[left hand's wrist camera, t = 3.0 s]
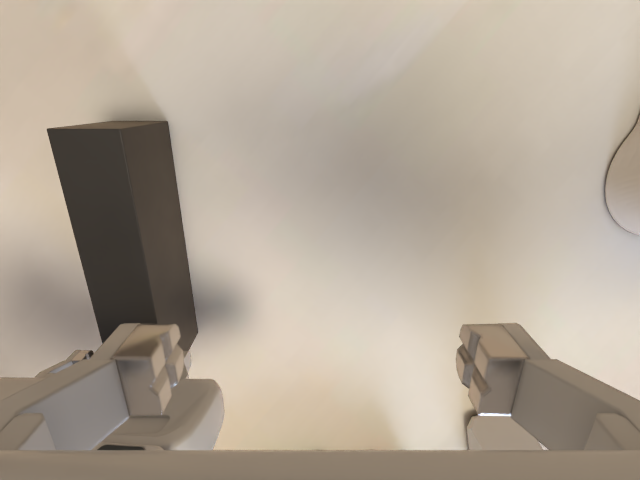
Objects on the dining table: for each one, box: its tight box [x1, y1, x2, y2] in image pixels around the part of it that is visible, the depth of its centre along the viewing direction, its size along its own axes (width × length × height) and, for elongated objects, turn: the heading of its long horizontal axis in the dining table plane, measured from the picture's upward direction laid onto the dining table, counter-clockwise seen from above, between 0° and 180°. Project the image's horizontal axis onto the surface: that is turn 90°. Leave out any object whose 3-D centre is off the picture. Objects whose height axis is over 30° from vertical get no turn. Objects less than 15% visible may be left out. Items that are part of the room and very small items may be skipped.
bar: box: [47, 121, 198, 351], centre depth 37 cm, size 26×6×10 cm, turn 0°
